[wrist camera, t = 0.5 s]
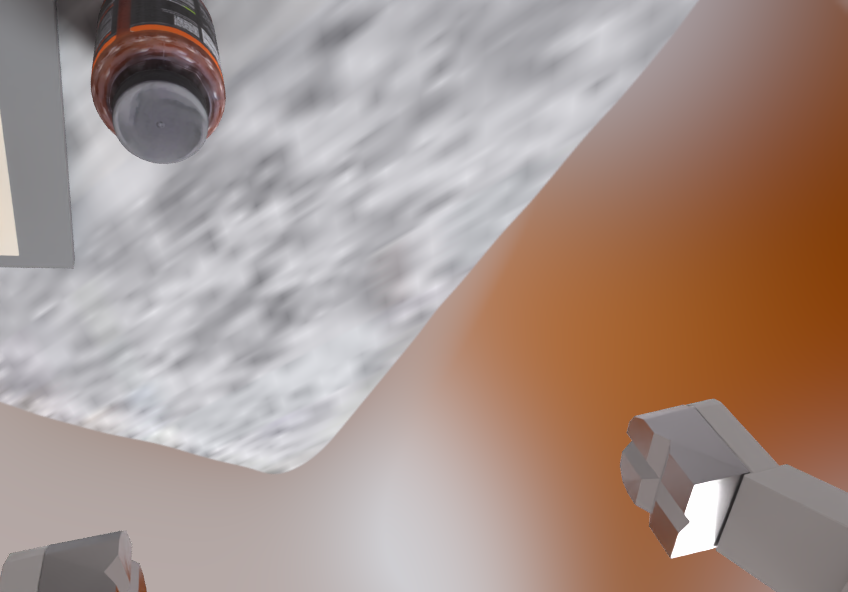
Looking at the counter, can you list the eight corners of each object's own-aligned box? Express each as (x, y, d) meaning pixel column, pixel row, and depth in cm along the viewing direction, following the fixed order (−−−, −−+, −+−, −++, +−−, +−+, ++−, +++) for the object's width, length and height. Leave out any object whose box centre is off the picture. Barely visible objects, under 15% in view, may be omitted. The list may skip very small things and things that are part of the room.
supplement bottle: (109, 80, 40) (96, 187, 32) (89, -32, 36) (69, 57, 28) (218, 80, 42) (233, 181, 34) (211, -27, 38) (226, 58, 30)
